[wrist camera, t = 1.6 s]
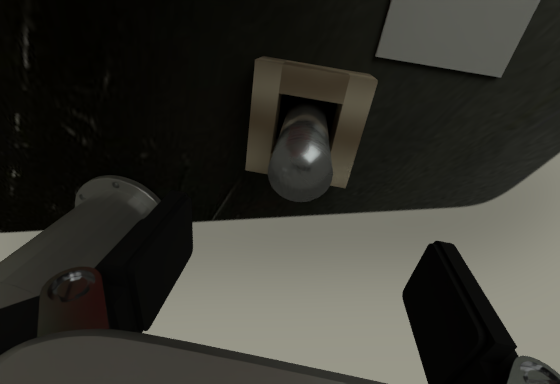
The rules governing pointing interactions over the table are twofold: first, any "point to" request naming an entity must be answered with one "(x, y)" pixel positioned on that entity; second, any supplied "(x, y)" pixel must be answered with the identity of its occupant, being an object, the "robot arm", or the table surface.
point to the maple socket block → (314, 85)
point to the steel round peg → (302, 153)
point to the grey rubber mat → (455, 33)
